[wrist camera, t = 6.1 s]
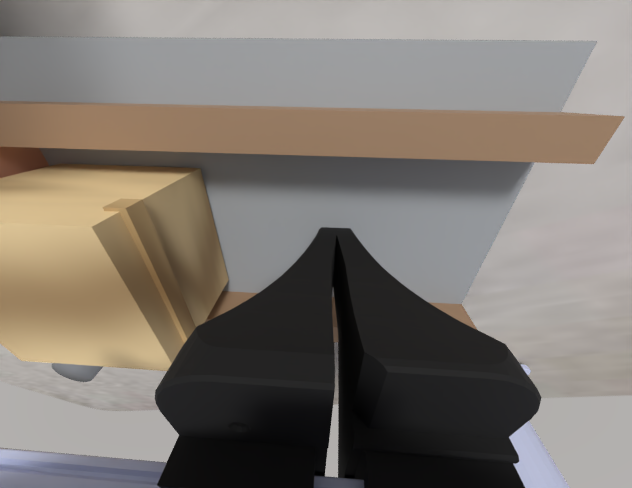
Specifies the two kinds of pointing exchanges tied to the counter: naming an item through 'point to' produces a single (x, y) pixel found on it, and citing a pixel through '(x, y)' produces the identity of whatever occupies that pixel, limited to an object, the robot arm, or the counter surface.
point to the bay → (311, 140)
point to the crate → (106, 264)
